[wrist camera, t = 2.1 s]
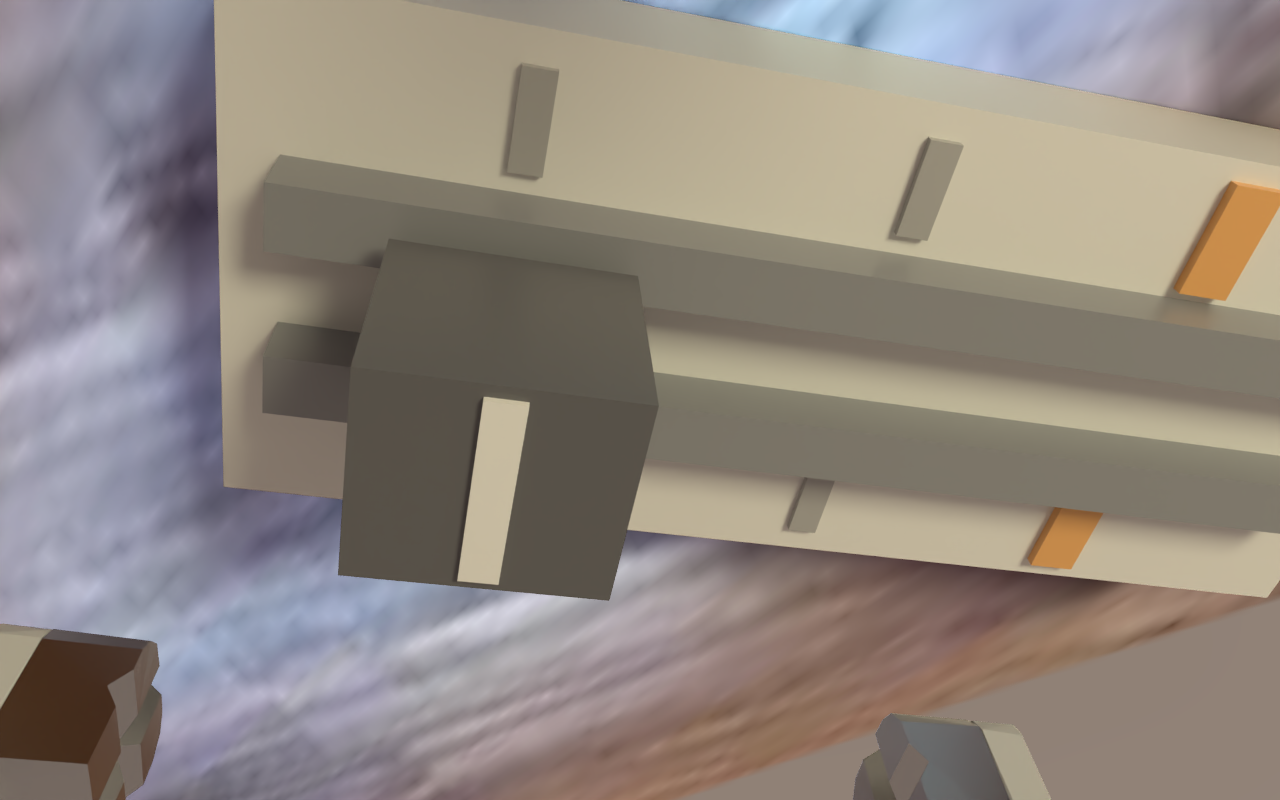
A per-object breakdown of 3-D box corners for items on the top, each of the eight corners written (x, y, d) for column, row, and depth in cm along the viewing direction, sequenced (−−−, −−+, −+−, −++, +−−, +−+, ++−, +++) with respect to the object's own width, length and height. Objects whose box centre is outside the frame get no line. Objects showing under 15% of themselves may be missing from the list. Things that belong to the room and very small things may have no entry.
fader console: (258, 403, 23) (207, 525, 20) (259, -71, 18) (190, -18, 14) (1201, 517, 27) (1296, 634, 24) (1431, 159, 22) (1597, 244, 19)
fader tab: (386, 375, 19) (337, 579, 15) (400, 198, 18) (349, 370, 13) (595, 402, 20) (609, 604, 16) (631, 234, 18) (659, 409, 14)
